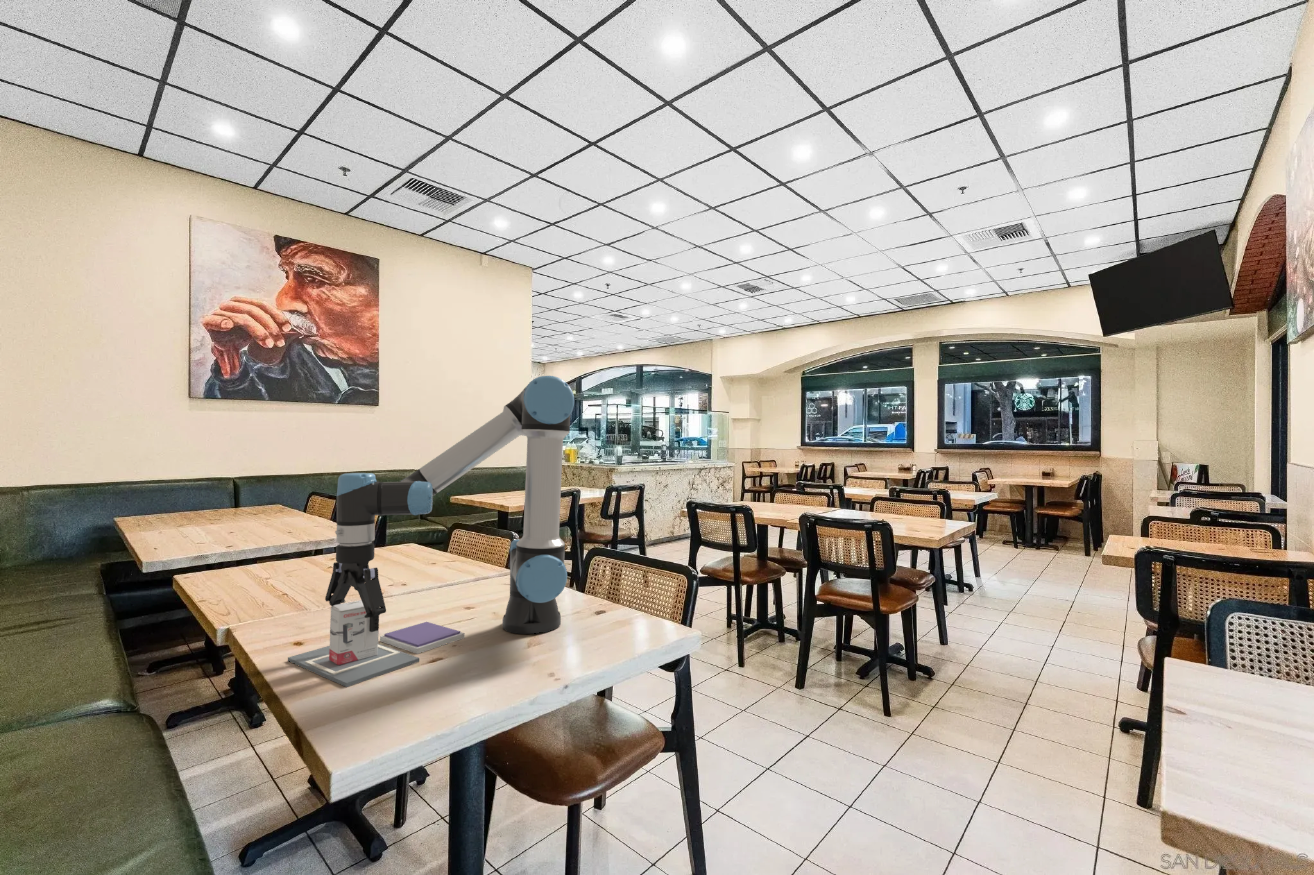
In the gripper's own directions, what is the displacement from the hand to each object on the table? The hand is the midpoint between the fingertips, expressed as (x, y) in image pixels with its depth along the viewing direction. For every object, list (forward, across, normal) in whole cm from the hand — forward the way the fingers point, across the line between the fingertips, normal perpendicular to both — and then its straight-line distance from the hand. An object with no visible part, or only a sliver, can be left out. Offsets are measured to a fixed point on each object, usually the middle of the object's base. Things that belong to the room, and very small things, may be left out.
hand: (354, 640), depth 125 cm
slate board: (+5, 0, 0) cm, 5 cm away
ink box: (+4, 0, 0) cm, 4 cm away
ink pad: (+5, 0, +17) cm, 18 cm away
